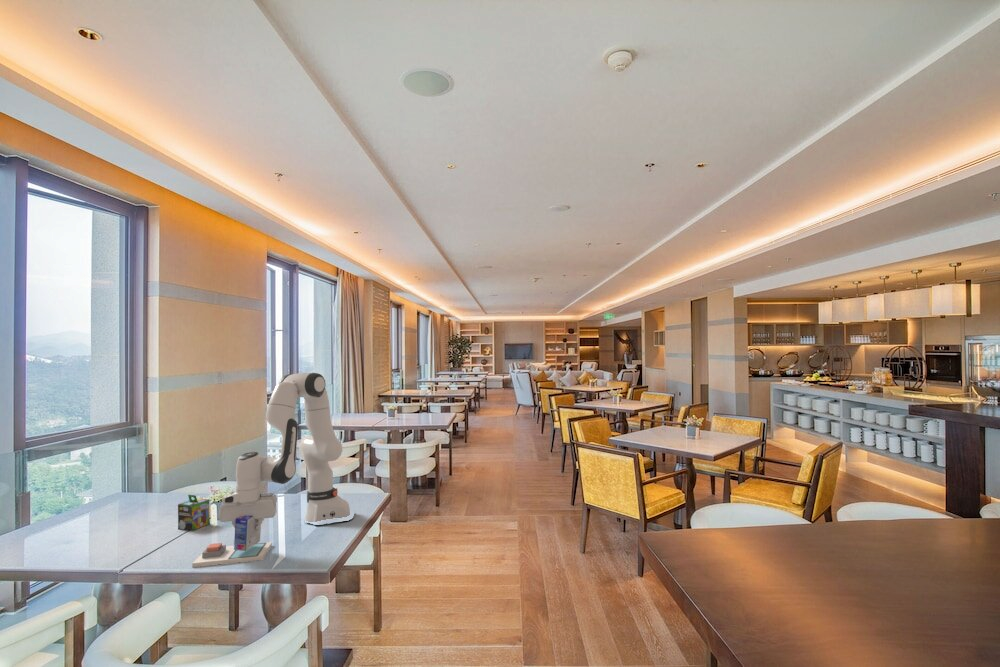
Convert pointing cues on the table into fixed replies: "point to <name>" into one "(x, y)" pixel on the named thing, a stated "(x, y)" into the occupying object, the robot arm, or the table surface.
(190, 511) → the chalk box
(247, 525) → the ink cartridge box
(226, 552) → the picture board
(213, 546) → the button
